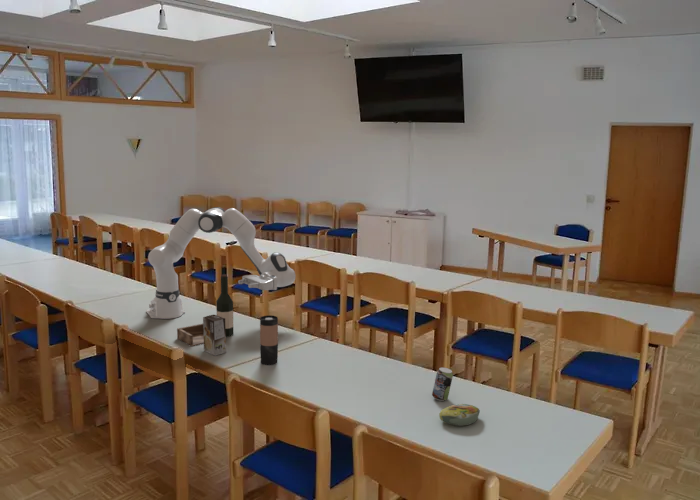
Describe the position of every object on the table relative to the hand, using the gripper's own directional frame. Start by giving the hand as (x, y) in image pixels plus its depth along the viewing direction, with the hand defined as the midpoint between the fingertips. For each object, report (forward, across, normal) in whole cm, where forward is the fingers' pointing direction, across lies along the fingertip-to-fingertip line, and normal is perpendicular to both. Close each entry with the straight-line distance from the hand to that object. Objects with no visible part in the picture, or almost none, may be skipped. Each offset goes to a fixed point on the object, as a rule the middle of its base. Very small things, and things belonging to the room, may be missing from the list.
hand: (243, 284), depth 305 cm
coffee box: (+27, +19, +24) cm, 41 cm away
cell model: (-6, +133, +24) cm, 135 cm away
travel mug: (+15, +45, +24) cm, 53 cm away
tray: (+25, -1, +24) cm, 34 cm away
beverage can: (-15, +117, +24) cm, 120 cm away
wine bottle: (+11, 0, +24) cm, 26 cm away
